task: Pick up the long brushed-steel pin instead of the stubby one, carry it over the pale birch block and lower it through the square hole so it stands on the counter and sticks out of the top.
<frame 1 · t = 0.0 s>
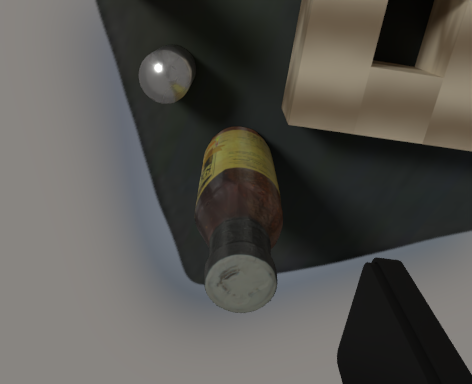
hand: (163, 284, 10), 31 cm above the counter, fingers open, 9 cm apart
hole block: (392, 27, 37), on the counter
short pin: (173, 68, 39), on the counter
sauce bottle: (238, 156, 42), on the counter
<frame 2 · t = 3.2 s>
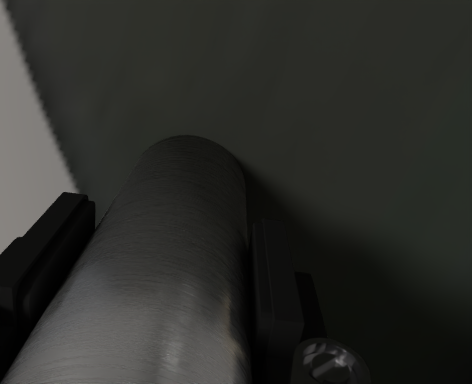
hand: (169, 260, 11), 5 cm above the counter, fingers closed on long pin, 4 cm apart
long pin: (188, 190, 15), on the counter, touching gripper
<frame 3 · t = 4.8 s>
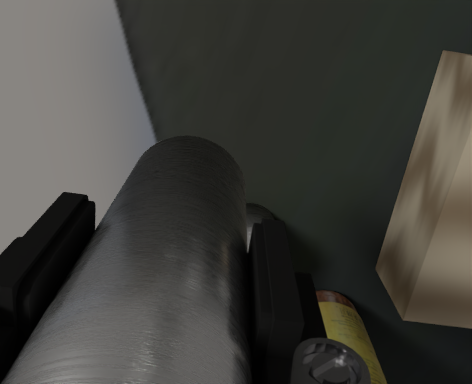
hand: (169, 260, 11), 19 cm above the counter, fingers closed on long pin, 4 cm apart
short pin: (248, 228, 32), on the counter
long pin: (188, 191, 15), point 14 cm above the counter, touching gripper
sauce bottle: (318, 318, 36), on the counter
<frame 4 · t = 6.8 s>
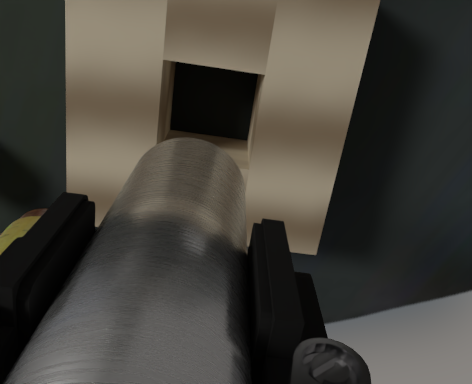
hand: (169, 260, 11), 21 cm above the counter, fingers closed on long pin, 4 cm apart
hole block: (213, 96, 31), on the counter
long pin: (188, 192, 15), point 17 cm above the counter, touching gripper
sauce bottle: (54, 240, 36), on the counter
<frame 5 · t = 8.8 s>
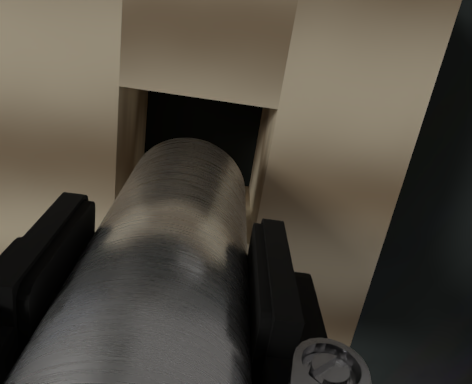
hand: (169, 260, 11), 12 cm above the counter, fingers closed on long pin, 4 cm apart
hole block: (202, 128, 22), on the counter
long pin: (188, 192, 15), point 7 cm above the counter, touching gripper
when the fingers open (7 cm above the counter, at t = 10.3 s): long pin drops 3 cm, resting in hole block.
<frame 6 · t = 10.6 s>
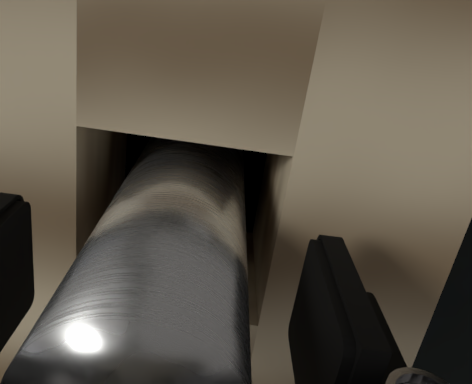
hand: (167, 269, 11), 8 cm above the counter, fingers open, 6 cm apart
hole block: (195, 163, 18), on the counter
long pin: (194, 163, 18), resting in hole block
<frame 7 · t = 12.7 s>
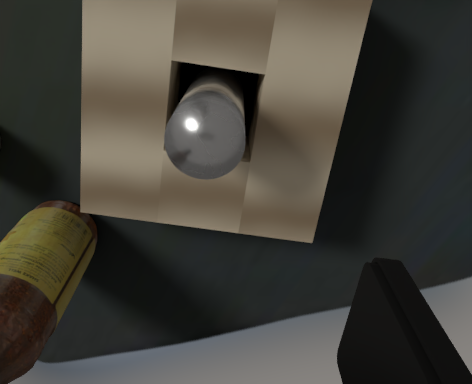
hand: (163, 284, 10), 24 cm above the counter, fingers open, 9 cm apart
hole block: (217, 94, 33), on the counter
long pin: (216, 94, 33), resting in hole block
sauce bottle: (66, 230, 38), on the counter
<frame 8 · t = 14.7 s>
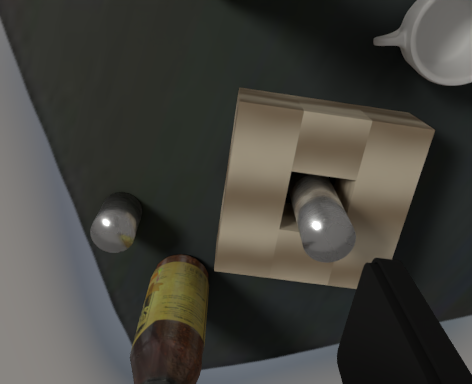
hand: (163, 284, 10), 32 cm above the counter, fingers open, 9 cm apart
hole block: (307, 179, 44), on the counter
short pin: (122, 209, 45), on the counter
long pin: (306, 179, 44), resting in hole block
teacup: (420, 32, 39), on the counter
sauce bottle: (182, 275, 49), on the counter
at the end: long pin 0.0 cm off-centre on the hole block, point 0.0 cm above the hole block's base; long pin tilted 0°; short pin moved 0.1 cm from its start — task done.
